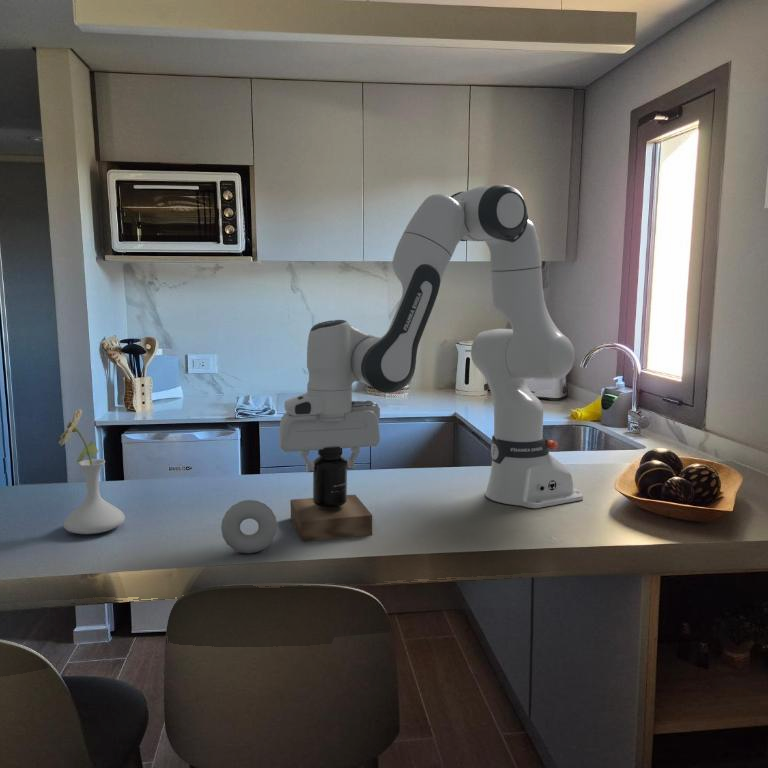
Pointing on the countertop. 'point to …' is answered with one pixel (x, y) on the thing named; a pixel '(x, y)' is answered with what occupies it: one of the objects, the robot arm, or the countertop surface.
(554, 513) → the countertop surface
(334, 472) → the supplement bottle
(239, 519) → the donut
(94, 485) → the flower in vase
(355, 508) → the walnut base
